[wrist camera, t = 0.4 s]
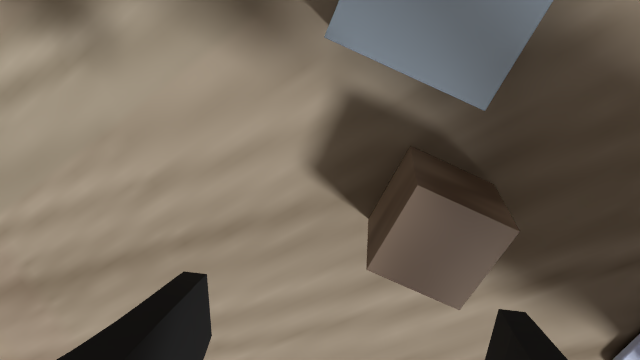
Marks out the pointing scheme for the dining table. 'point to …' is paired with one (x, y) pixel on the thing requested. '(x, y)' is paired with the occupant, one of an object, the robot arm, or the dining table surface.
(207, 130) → the dining table surface
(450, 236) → the walnut cube
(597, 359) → the dining table surface
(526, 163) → the dining table surface
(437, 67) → the base block
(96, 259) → the dining table surface
